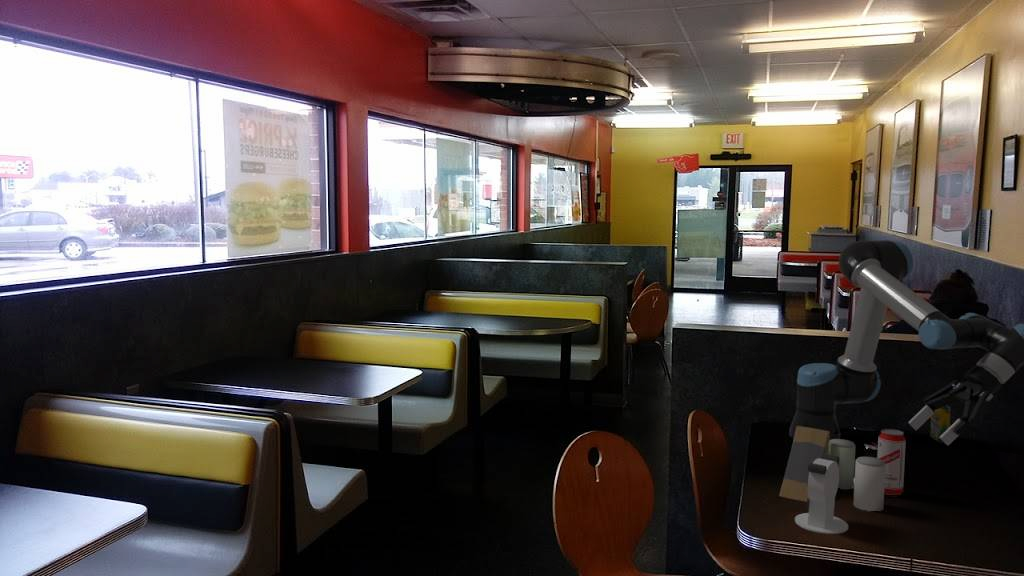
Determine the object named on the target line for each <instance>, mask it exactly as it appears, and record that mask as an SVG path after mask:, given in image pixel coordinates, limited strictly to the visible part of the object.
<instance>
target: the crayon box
mask: <svg viewBox="0 0 1024 576" xmlns="http://www.w3.org/2000/svg"><path fill="white" fill-rule="evenodd" d="M945 407H946V408H945ZM951 408H952V407H950V406H949V405H947V406H944V407H942V408H939V409H937V410H935V413H934V414H933V415H932V416H931V417H930V431H929V432H930V438H932V439H933V440H934V441H936V442H938V443H939V444H945V443H944V442H943V441H942V440H941V438H940V436H941V435H942V434H943V433H944V432H945V431H946V430H947V429H948V428H949V427H950V426H951V425H950V424H951ZM945 445H946V444H945Z"/></svg>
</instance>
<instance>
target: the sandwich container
mask: <svg viewBox="0 0 1024 576" xmlns="http://www.w3.org/2000/svg"><path fill="white" fill-rule="evenodd" d="M829 438H830V432H829V431H825V430H819V429H814V428H808V427H802V426H797V427H796V431H795V435H794V438H793V441H792V445H791V449H790V452H789V457H788V460H787V465H786V468H785V472H784V477H783V481H782V484H781V487H780V491H779V495H778V496H779V497H782V498H786V499H791V500H796V501H801V502H806V503H807V499H809V498H808V492H807V477H808V474H809V471H808V465H809V463H813V462H814V461H815V460H816V459H818V458H820V459H821V457H822V454H828V453H829Z"/></svg>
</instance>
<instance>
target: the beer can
mask: <svg viewBox="0 0 1024 576" xmlns="http://www.w3.org/2000/svg"><path fill="white" fill-rule="evenodd" d="M906 443H907V441H906V438H905V436H904V431H901V430H897V429H894V428H892V429H891V428H883V429H881V430H880V434H879V435H878V440H877V455H876V456H877V457H876V458H878V459H881V460H883V461H884V463H885V464H886V469H885V487H884V494H886V495H899V496H900V495H902V494H903V492H904V481H905V480H904V477H905V460H906V459H905V458H906ZM886 495H885V496H886Z"/></svg>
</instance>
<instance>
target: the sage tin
mask: <svg viewBox="0 0 1024 576" xmlns="http://www.w3.org/2000/svg"><path fill="white" fill-rule="evenodd" d="M828 455H833V456H838V457H839V466H838V468H839V483H838V488H840V489H839V490H850V489H849V488H852V487H853V488H854V484H855V464H856V444H855V443H854V442H853V441H852V440H848V439H844V438H843V439H842V438H840V439H831V440H830V441H829V453H828ZM853 488H852V489H853Z"/></svg>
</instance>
